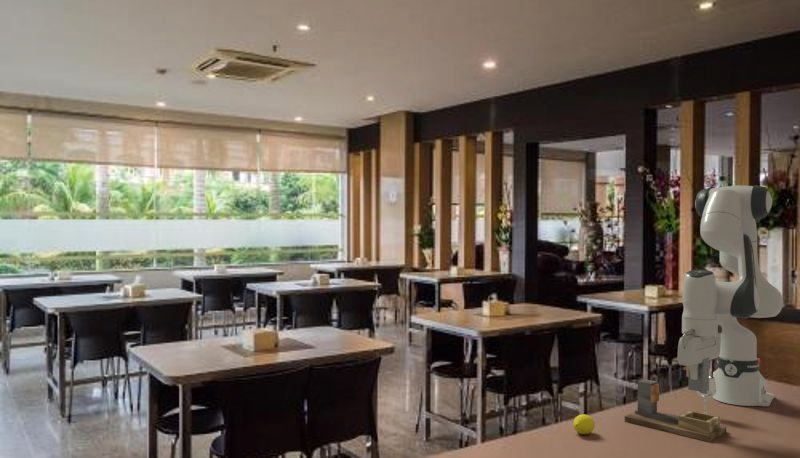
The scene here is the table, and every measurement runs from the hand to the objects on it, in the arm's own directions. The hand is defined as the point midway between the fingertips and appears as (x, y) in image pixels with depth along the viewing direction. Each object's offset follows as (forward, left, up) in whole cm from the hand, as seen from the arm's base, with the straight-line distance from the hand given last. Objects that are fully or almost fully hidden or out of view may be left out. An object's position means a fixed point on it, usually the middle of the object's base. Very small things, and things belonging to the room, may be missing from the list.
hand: (698, 377), depth 173 cm
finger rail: (0, -7, -15) cm, 17 cm away
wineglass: (-17, -5, -16) cm, 24 cm away
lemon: (+25, -21, -16) cm, 36 cm away
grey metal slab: (0, 0, -3) cm, 3 cm away
